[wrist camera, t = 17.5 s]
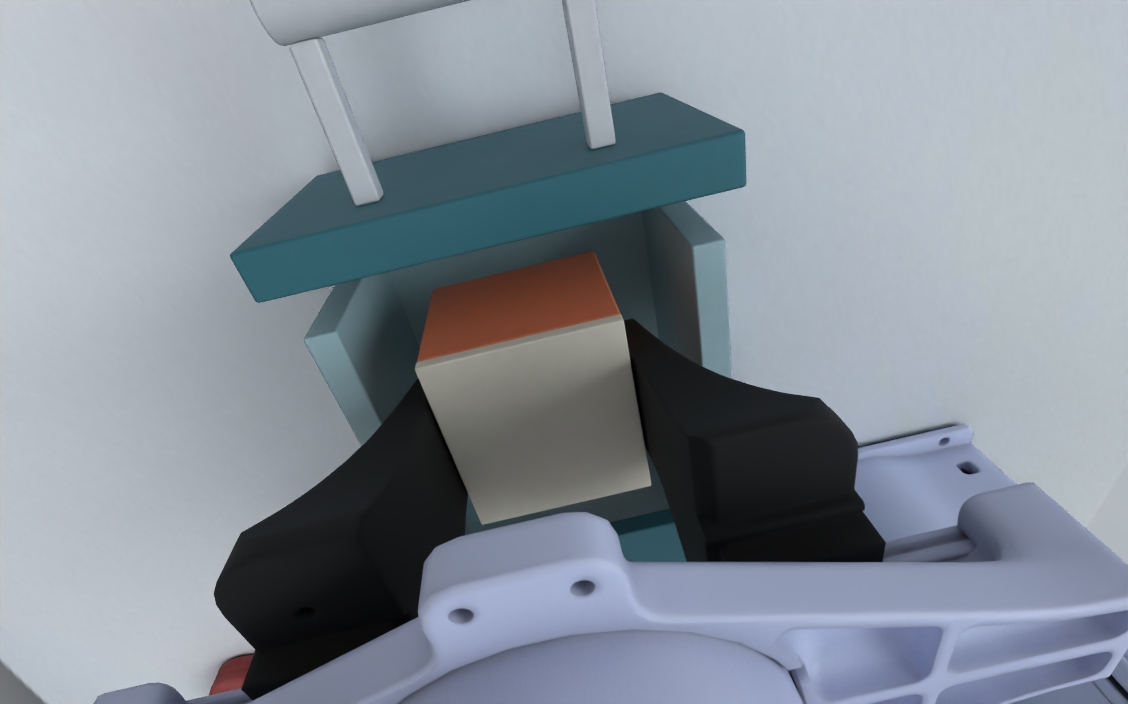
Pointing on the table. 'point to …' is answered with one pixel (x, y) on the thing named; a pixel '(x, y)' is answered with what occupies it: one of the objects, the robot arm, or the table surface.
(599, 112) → the drawer
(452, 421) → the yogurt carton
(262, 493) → the table surface
